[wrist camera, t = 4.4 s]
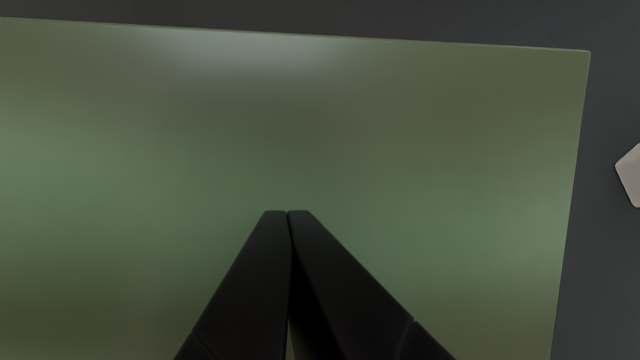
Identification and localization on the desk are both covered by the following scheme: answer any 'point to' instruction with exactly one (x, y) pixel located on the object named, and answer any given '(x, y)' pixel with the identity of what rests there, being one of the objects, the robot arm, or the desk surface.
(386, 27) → the desk surface
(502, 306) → the lid
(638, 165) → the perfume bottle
